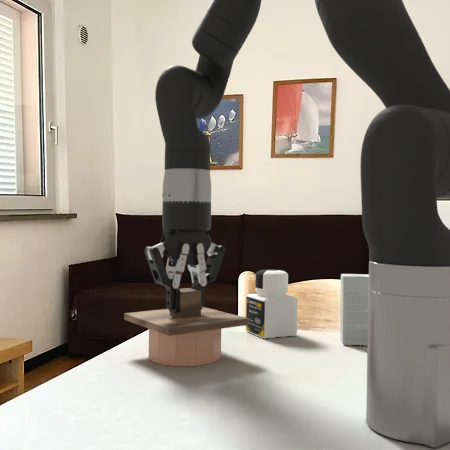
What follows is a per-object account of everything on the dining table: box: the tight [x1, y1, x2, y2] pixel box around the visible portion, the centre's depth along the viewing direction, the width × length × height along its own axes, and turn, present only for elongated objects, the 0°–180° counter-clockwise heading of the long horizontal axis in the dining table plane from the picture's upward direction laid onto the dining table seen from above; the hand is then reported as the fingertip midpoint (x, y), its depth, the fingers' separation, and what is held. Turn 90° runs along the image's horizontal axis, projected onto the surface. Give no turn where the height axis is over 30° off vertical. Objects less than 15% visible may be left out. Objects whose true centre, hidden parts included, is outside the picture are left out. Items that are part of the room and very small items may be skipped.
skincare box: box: [340, 273, 369, 347], centre depth 93 cm, size 6×4×12 cm
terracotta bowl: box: [148, 329, 222, 367], centre depth 83 cm, size 11×11×5 cm
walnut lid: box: [123, 287, 249, 336], centre depth 83 cm, size 14×14×5 cm
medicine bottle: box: [245, 268, 298, 340], centre depth 100 cm, size 7×7×12 cm
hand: (185, 310), depth 83 cm, fingers closed on walnut lid, 3 cm apart
